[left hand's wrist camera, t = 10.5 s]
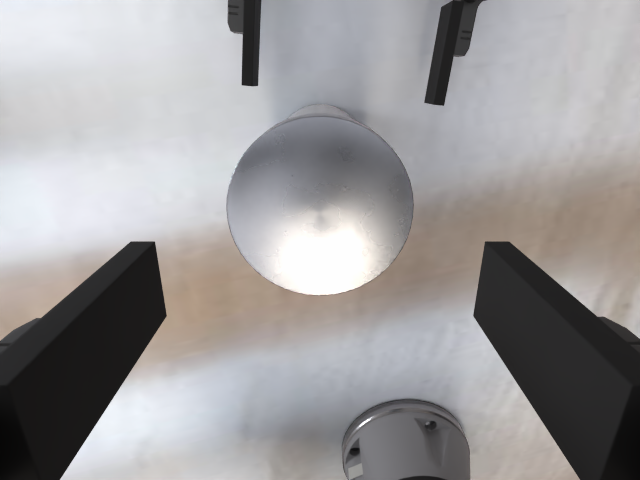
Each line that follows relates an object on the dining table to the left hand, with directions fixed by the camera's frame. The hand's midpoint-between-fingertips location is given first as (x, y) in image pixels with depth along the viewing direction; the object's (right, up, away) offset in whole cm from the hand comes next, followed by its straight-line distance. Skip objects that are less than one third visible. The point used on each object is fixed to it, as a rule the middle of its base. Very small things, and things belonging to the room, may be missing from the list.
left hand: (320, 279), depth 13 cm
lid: (0, +3, +7) cm, 8 cm away
